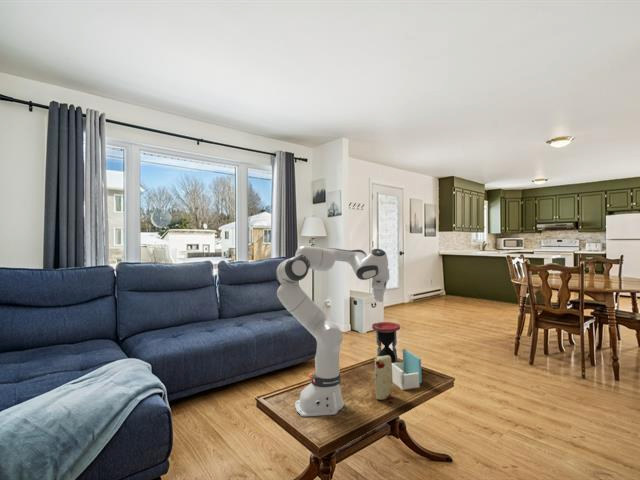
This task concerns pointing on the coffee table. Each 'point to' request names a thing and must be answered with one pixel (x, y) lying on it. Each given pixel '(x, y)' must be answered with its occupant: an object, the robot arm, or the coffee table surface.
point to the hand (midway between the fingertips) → (382, 294)
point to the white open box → (404, 377)
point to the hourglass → (386, 339)
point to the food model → (383, 377)
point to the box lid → (412, 364)
